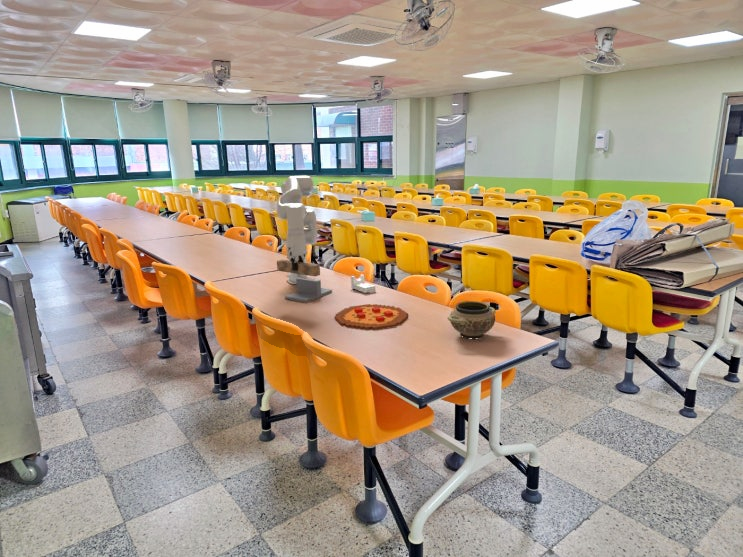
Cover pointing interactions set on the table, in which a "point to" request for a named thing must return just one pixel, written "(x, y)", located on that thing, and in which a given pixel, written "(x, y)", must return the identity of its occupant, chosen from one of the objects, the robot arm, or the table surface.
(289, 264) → the brown wooden bar
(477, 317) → the ceramic bowl
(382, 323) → the pizza
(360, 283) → the bracket
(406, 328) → the table surface
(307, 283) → the balance stand
